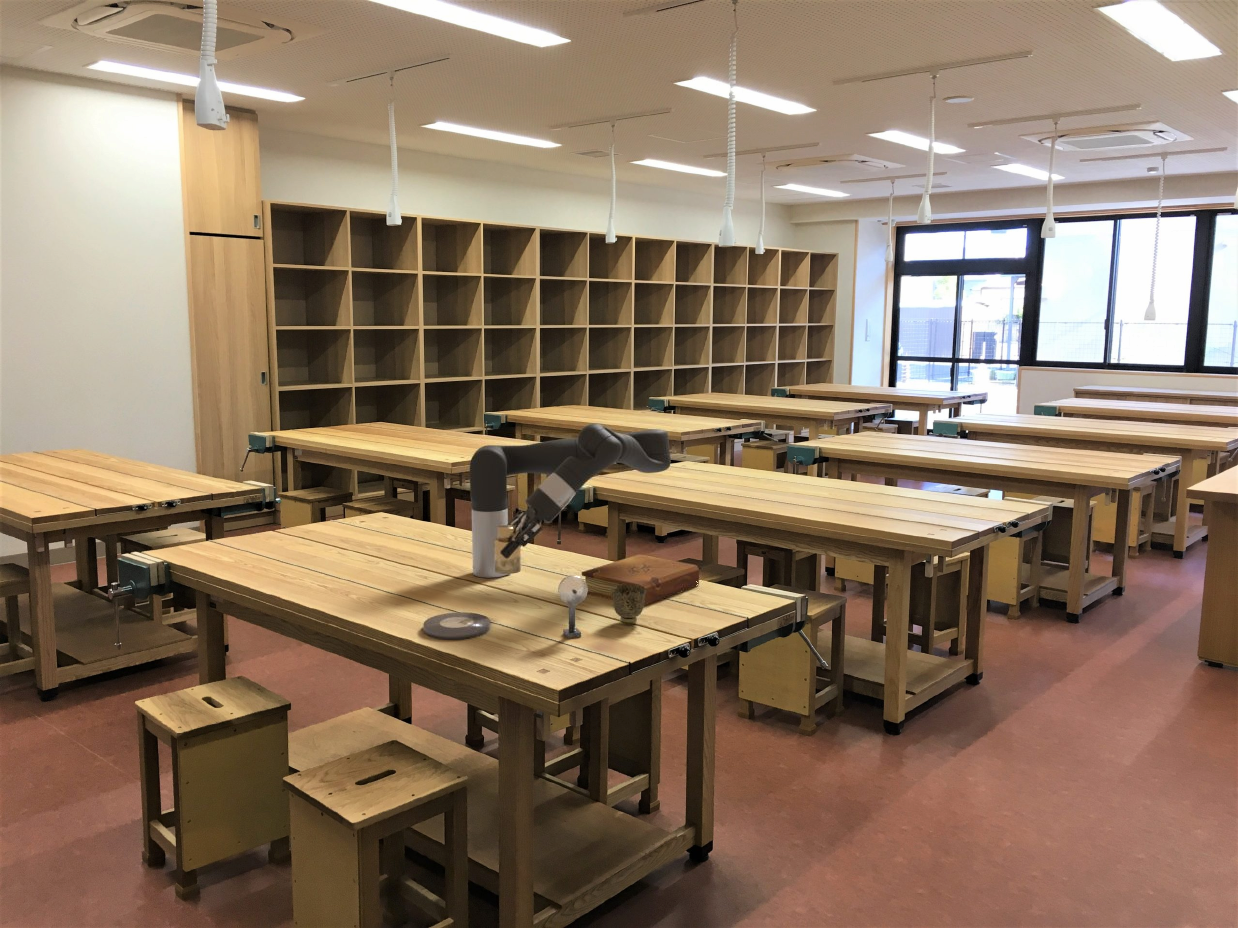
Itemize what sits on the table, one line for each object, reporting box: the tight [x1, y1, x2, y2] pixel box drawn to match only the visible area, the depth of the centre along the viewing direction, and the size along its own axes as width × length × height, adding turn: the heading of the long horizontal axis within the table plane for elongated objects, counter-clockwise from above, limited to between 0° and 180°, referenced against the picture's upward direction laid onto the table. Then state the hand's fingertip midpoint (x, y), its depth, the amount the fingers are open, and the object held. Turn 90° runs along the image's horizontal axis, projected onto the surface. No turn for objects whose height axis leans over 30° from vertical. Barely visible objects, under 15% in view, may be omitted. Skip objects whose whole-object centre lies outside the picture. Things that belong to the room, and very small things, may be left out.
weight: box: [495, 525, 522, 575], centre depth 213 cm, size 6×6×10 cm
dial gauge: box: [557, 574, 588, 639], centre depth 197 cm, size 6×4×13 cm, turn 109°
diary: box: [581, 554, 700, 607], centre depth 233 cm, size 23×19×6 cm
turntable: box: [422, 611, 491, 641], centre depth 202 cm, size 14×14×2 cm
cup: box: [611, 583, 646, 626], centre depth 206 cm, size 8×7×8 cm
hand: (500, 552), depth 213 cm, fingers closed on weight, 5 cm apart
